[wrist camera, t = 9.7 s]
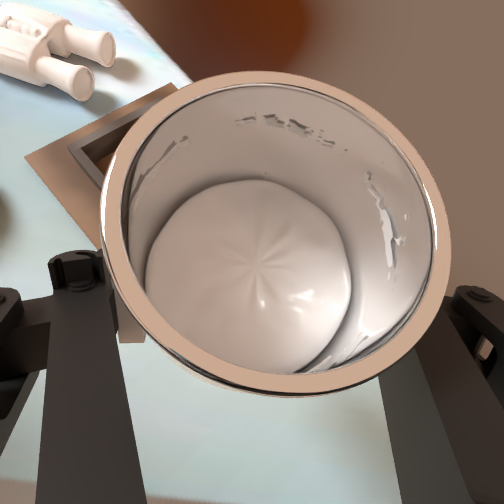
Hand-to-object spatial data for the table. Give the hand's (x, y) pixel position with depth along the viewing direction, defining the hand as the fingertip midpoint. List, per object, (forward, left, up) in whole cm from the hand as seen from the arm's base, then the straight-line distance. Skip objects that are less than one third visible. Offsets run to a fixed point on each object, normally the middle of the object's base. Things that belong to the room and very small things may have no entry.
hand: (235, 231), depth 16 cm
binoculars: (+3, +39, -19) cm, 44 cm away
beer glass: (-2, -3, -6) cm, 7 cm away
